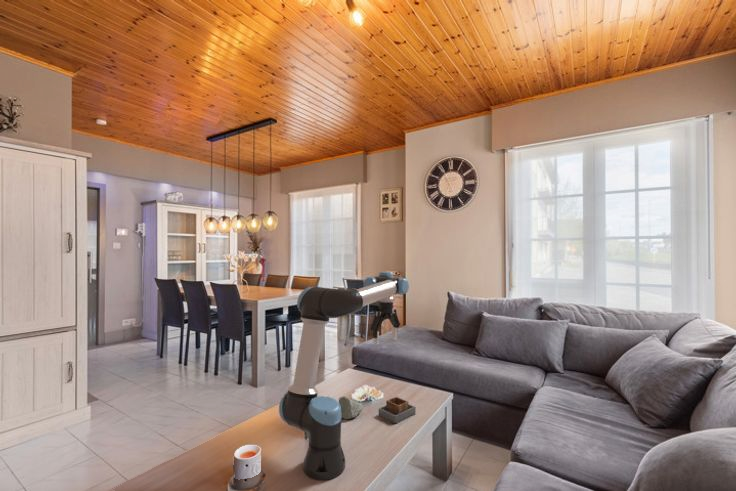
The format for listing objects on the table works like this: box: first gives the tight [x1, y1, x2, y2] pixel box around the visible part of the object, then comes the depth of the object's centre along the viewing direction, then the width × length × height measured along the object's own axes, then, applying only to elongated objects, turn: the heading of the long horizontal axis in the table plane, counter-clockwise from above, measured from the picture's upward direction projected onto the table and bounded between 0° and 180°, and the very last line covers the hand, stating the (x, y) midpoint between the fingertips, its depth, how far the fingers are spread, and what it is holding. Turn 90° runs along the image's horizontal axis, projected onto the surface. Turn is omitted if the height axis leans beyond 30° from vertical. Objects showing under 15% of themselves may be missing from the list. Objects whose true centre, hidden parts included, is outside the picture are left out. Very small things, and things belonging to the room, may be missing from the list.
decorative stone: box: [338, 396, 364, 420], centre depth 165 cm, size 13×11×10 cm
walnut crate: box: [385, 396, 409, 415], centre depth 166 cm, size 7×8×6 cm
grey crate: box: [378, 403, 417, 425], centre depth 166 cm, size 14×11×4 cm
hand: (385, 341), depth 180 cm, fingers open, 13 cm apart
